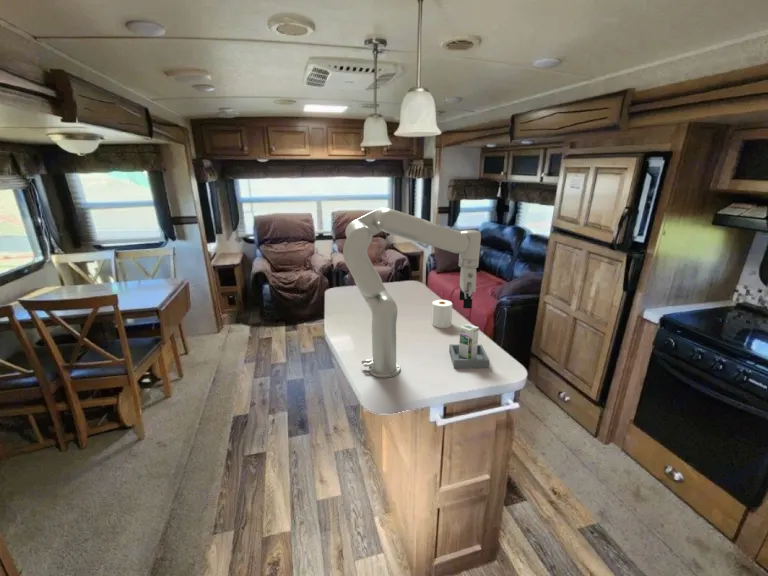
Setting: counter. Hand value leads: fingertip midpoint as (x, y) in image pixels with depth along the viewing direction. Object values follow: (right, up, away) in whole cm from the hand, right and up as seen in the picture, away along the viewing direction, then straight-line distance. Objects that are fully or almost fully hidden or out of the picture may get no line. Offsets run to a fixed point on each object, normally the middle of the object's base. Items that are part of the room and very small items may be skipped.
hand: (465, 304), depth 141 cm
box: (+3, -24, +7) cm, 25 cm away
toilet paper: (-2, -13, +44) cm, 46 cm away
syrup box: (+3, -23, +7) cm, 25 cm away
